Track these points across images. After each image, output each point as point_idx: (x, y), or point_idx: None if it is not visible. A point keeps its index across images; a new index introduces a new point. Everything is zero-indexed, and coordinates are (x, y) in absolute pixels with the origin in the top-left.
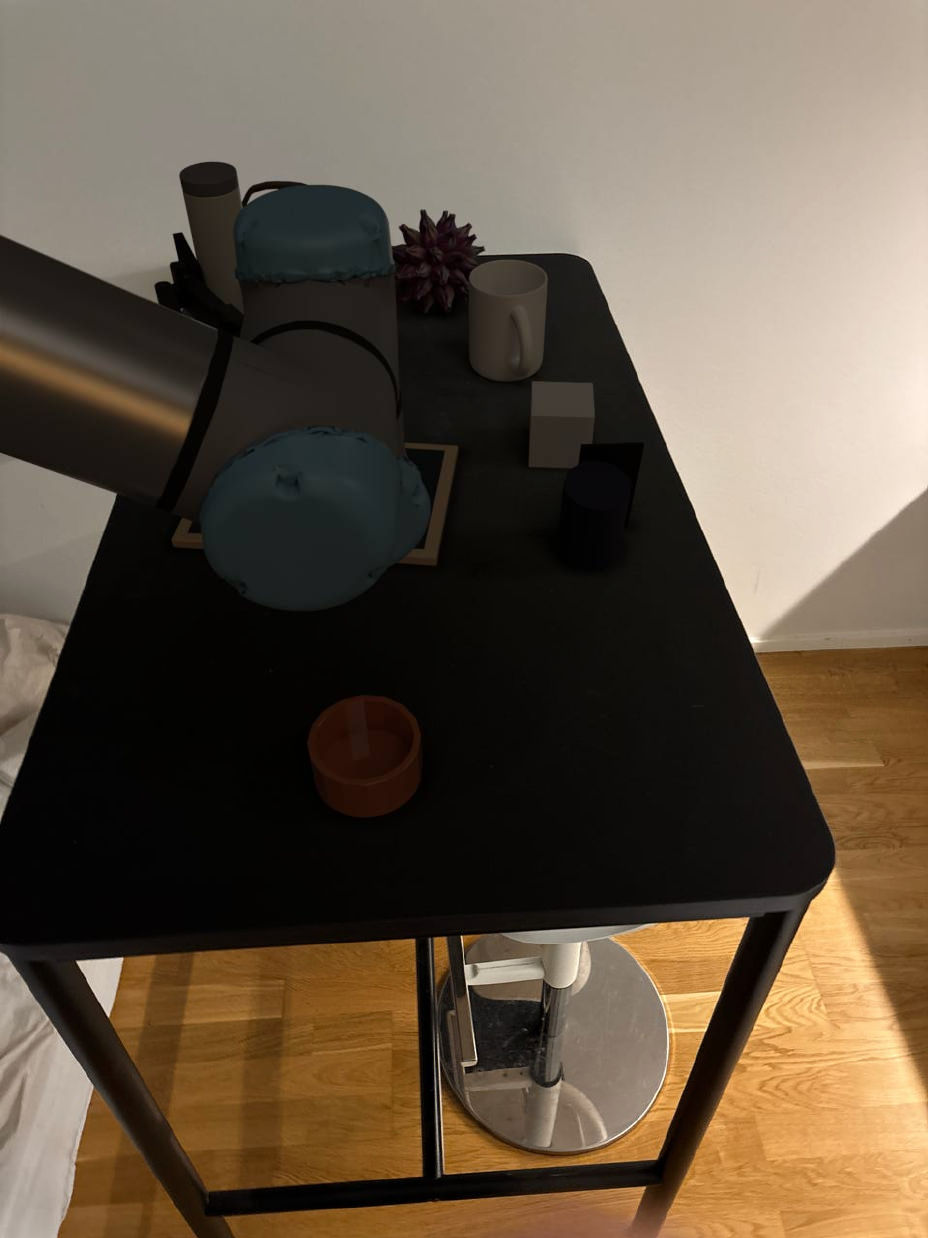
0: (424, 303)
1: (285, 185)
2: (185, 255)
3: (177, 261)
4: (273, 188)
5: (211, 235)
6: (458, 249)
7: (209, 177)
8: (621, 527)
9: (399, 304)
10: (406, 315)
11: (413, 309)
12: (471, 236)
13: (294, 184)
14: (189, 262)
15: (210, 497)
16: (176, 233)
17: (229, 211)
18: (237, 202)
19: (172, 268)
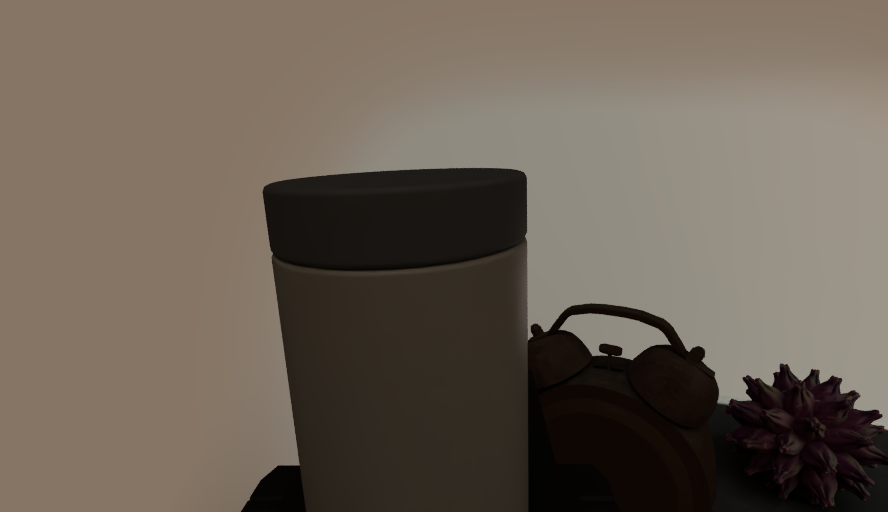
0: (782, 486)
1: (618, 311)
2: None
3: (297, 467)
4: (600, 313)
5: (332, 457)
6: (848, 426)
7: (376, 182)
8: None
9: (731, 468)
10: (746, 490)
11: (754, 482)
12: (872, 413)
13: (631, 311)
14: (286, 508)
15: None
16: None
17: (441, 359)
18: (498, 319)
19: (254, 498)
